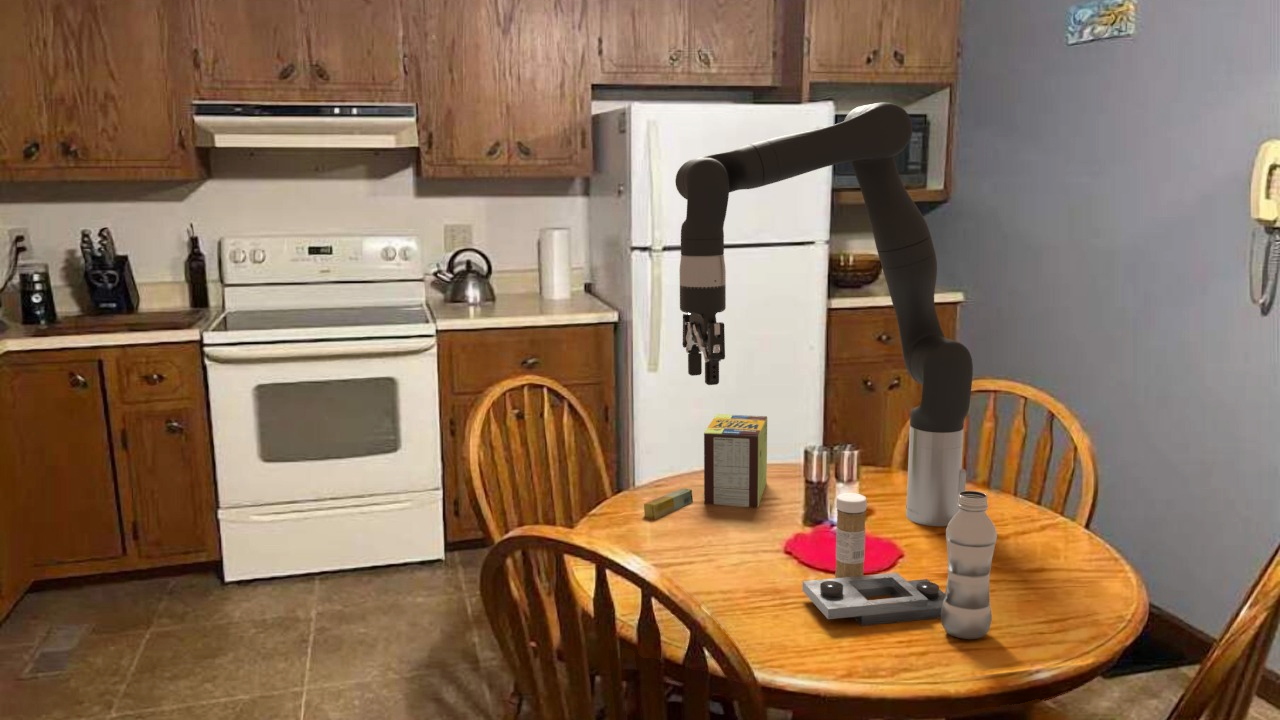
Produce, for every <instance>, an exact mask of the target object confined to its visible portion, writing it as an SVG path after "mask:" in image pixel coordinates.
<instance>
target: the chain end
mask: <svg viewBox="0 0 1280 720" xmlns="http://www.w3.org/2000/svg"><path fill="white" fill-rule="evenodd" d="M906 581H907V582H908V583H910V584H911V585H912V586H913V587H914V588H916V589H917V590H918V591H919V592H920V593H921V594H923V595H924V596H925V597H926V598H927V599H928V609H926V610H916V611H906V612H896V613H886V614H876V615H866V616H856V617H852V618H853V619H854V620H855V621H856V622H857V623H858V624H859V625H860V626H861V627H863V626H864V627H865V626H874V625H876V626H877V625H884V624H892V623H904V622H913V621H923V620H924V621H925V620H932V619H933V620H934V619H941V609H942V604H943V601H944V598H945V592H943V591H942V590H941V589H940V586H939V584H937V583H935V582H932V581H930V580H929V579H927V578H926V579H925V578H924V579H914V580H906ZM857 591H858V592H859V593H860V594H861V595H863V596H864V597H865V598H866V599H867V598H877V597H878V598H879V597H888V596H889V597H890V596H891V598H899V597H903V596H901V595H900V594H899V593H898V592H897V591H896V590H895V589H894V588H892V587H883V588H873V589H862V590H857Z"/></svg>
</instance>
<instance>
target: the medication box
mask: <svg viewBox="0 0 1280 720" xmlns="http://www.w3.org/2000/svg"><path fill="white" fill-rule="evenodd" d="M693 502H694V501H693V490H692V489H688V488H680V489H678V490H675V491H672V492H670V493H667V494H665V495H661V496H659V497H656V498H655V499H653V500H652V499H651V500H650V501H647V502H645V503H643V509H644V510H643V511H644V517H645V518H648V519H652V520H658V519H660V518H662V517H664V516H667V515H669V514H671V513H672V512H675V511H677V510H679V509H681V508H684V507H686V506H687V505H690V504H692V503H693Z"/></svg>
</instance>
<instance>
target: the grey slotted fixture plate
mask: <svg viewBox="0 0 1280 720" xmlns="http://www.w3.org/2000/svg"><path fill="white" fill-rule="evenodd" d="M907 581H908V580H907V579H905V578H904V577H903V576H901V575H900V574H899V573H898V572H889V573H877V574H866V575H864V576H854V577H843V578H836V577H834V578H823V579H812V580H803V581H802V590H801V591H802V592H803V593H804V594H805V596H806V597H807V598H809V600H810V601H811V602H812V603H813V605H815V606H816V608H817V609H818V610H819V611H820V612H821V613H822V615H824V616H825V618H826V619H827V620H835V619H845V618H853V617H856V616H866V615H876V614H886V613H896V612H906V611H916V610H926V609H928V599H927V598H926V597H925V596H924V595H923V594H921V593H920V592H919V591H918V590H917V589H916V588H914V587H913V586H912V585H911V584H910V583H908V582H907ZM883 587H892V588H894V589H895V590H896V591H897V592H898V593H899V594H900V595H901V596H903V597H899V598H893V597H889V598H881V599H879V598H878V599H869V600H868V599H867V598H865V597H864V596H863V595H861V594H860V593H859V592H858V591H857V590H862V589H873V588H883Z"/></svg>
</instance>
